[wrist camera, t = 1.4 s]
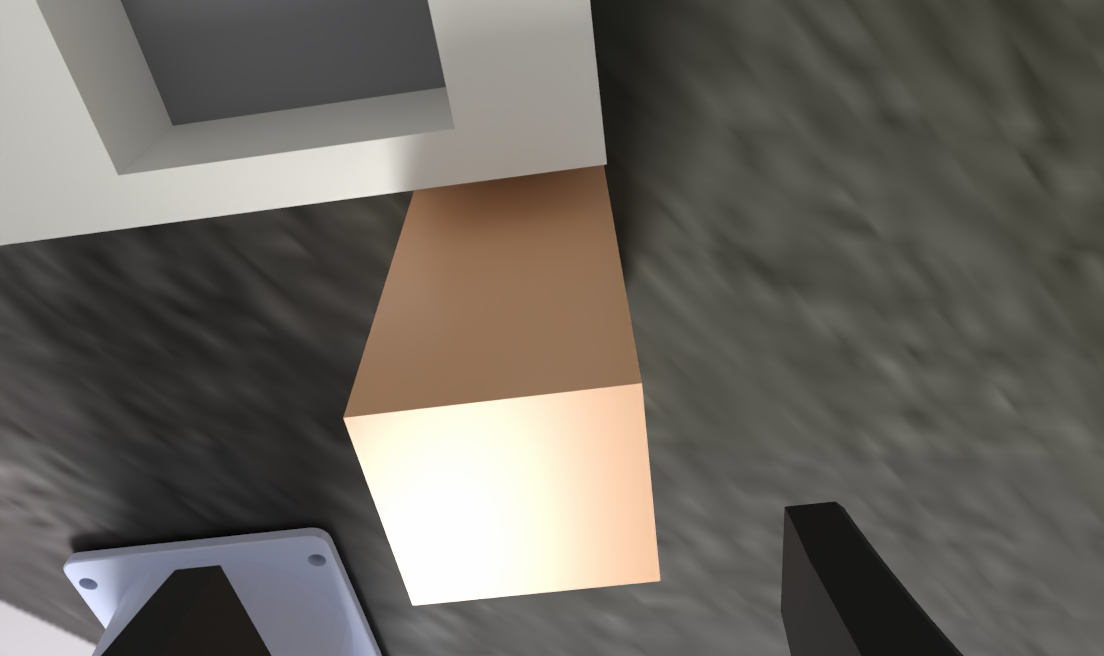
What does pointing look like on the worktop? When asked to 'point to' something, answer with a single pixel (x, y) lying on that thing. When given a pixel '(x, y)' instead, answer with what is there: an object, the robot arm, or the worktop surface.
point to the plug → (507, 395)
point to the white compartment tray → (279, 104)
